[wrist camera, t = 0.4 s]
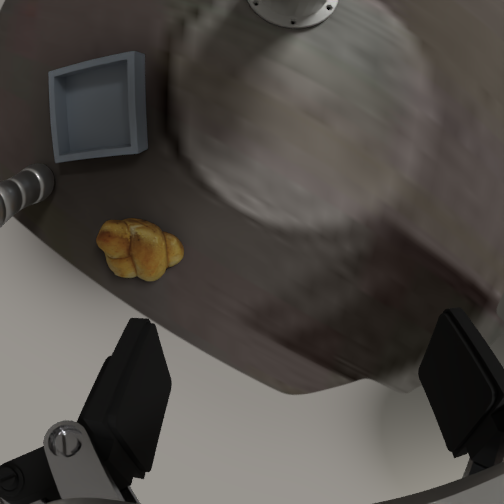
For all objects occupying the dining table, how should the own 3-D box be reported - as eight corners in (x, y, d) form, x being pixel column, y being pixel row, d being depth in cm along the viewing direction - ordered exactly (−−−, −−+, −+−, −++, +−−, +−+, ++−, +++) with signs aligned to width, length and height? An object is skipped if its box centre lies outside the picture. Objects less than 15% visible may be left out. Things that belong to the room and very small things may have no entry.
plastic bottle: (62, 194, 45) (-17, 248, 27) (34, 199, 45) (-42, 250, 28) (55, 156, 42) (-32, 197, 24) (27, 164, 42) (-56, 205, 25)
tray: (63, 72, 36) (48, 72, 32) (145, 54, 36) (134, 50, 32) (68, 157, 42) (55, 163, 39) (148, 148, 42) (138, 153, 38)
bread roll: (191, 227, 48) (180, 252, 40) (178, 279, 52) (167, 308, 45) (115, 204, 46) (92, 224, 39) (108, 257, 50) (88, 281, 43)
